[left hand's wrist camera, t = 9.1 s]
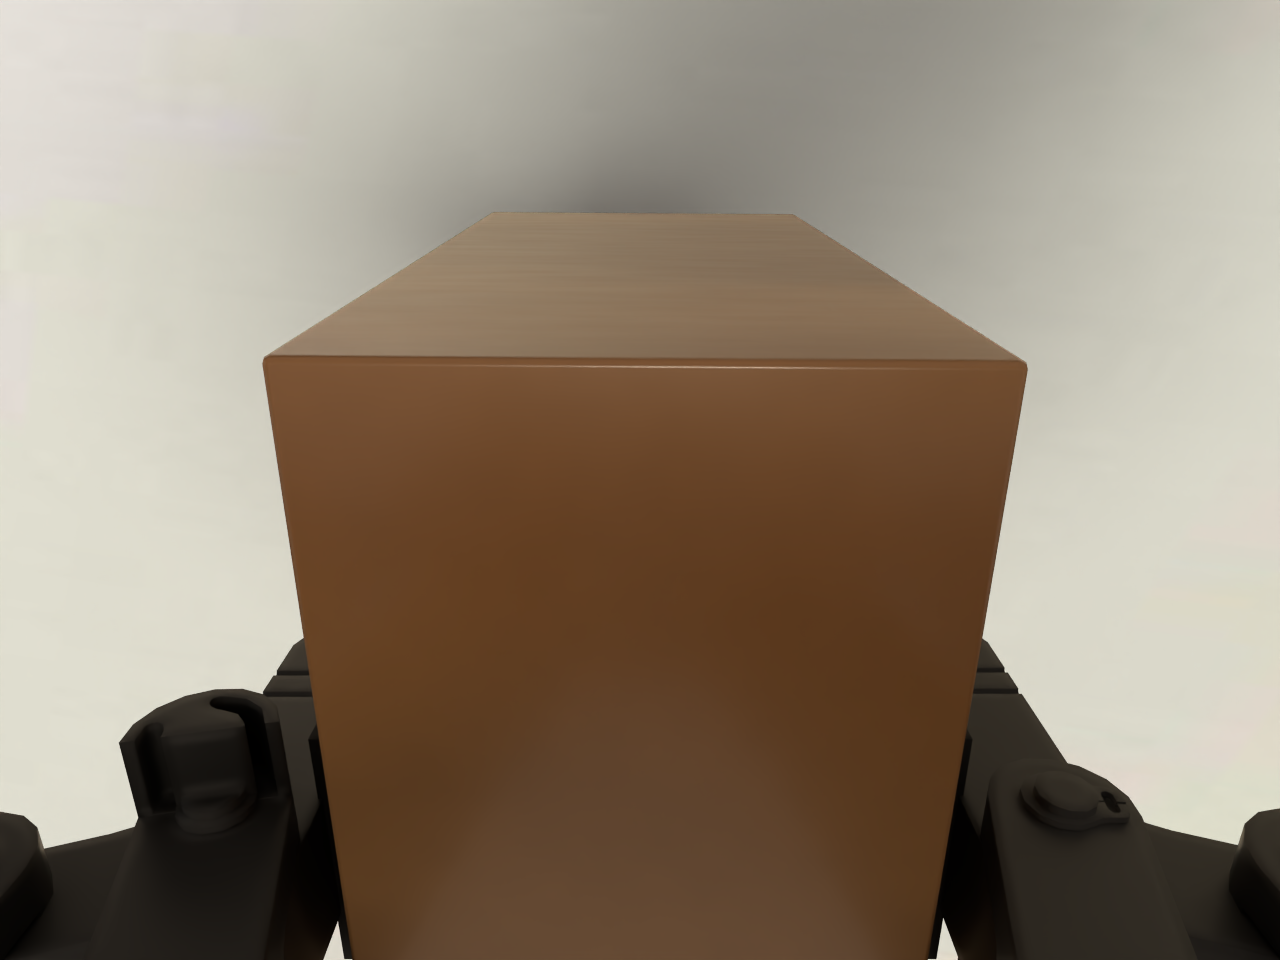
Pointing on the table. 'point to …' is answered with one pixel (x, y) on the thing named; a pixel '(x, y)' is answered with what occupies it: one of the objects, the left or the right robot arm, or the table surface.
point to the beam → (642, 589)
